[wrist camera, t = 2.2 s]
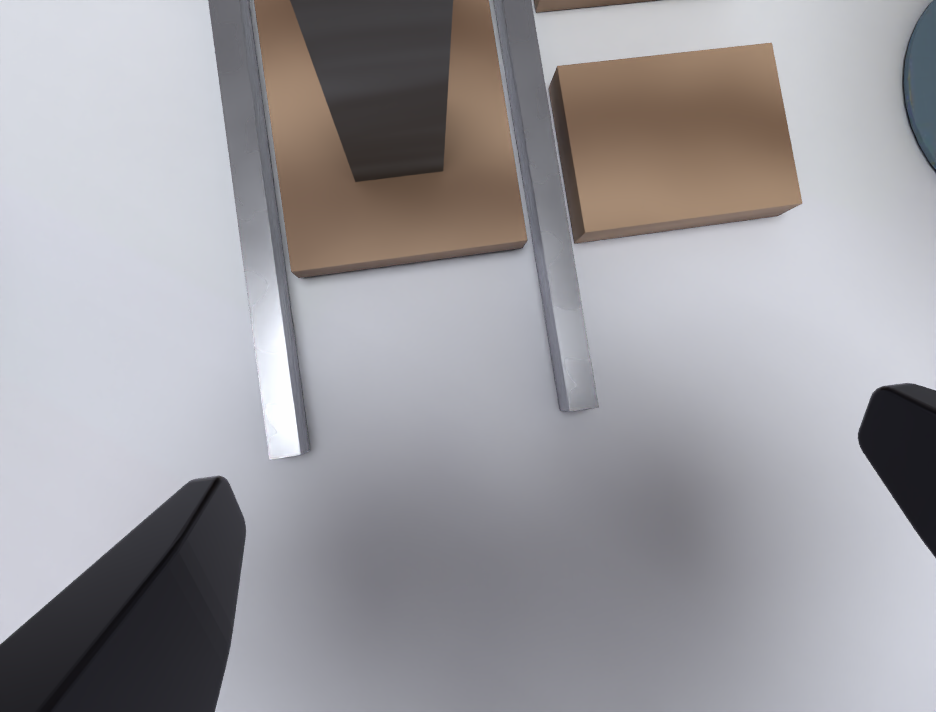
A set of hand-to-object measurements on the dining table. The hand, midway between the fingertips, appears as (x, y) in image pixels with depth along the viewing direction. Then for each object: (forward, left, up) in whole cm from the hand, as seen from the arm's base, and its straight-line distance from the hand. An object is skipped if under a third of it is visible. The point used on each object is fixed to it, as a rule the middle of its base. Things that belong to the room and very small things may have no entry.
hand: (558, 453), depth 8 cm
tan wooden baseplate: (+9, +11, -12) cm, 18 cm away
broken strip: (+15, +3, -12) cm, 20 cm away
